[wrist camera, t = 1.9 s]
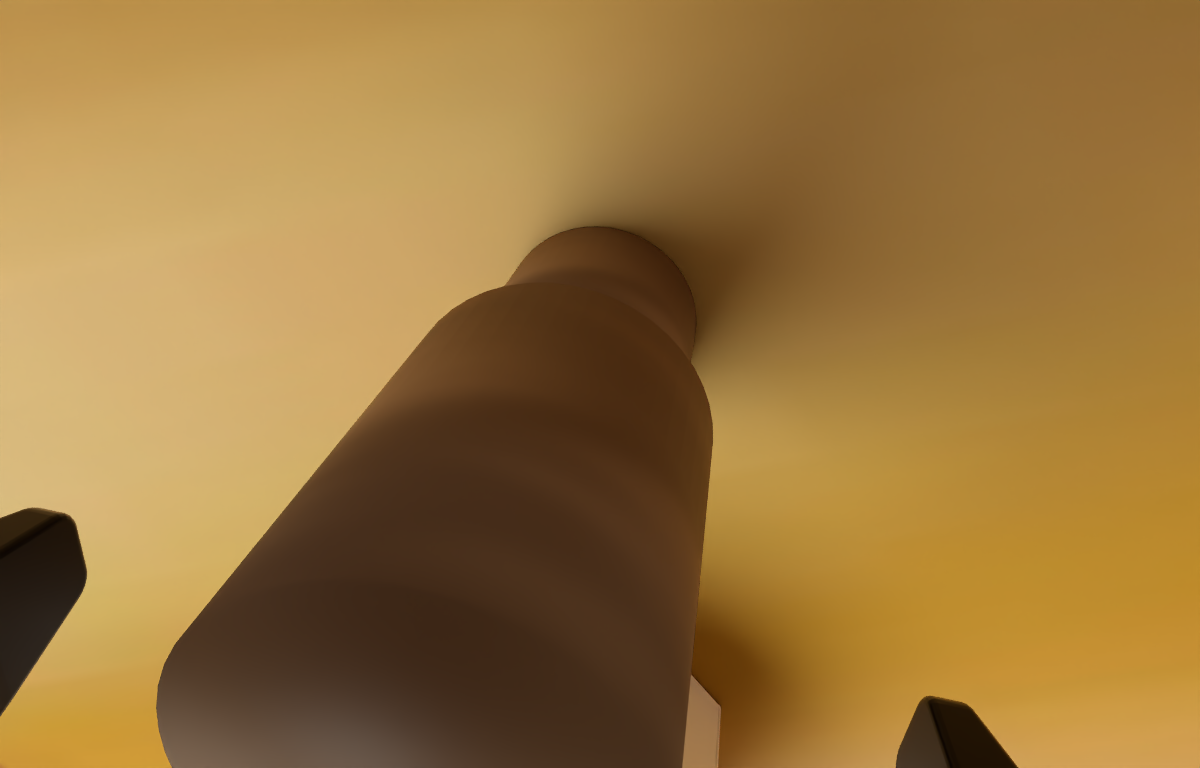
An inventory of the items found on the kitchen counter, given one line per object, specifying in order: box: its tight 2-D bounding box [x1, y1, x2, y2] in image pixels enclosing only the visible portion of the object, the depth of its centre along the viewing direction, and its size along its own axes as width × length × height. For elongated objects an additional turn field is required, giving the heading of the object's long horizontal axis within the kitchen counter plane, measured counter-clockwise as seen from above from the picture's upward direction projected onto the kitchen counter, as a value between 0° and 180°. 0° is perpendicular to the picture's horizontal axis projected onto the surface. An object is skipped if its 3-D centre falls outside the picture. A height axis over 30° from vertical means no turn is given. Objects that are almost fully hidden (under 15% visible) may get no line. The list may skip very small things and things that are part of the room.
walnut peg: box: [156, 227, 713, 768], centre depth 12 cm, size 5×5×10 cm
